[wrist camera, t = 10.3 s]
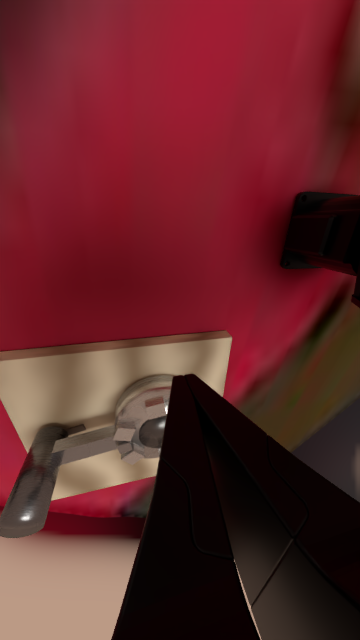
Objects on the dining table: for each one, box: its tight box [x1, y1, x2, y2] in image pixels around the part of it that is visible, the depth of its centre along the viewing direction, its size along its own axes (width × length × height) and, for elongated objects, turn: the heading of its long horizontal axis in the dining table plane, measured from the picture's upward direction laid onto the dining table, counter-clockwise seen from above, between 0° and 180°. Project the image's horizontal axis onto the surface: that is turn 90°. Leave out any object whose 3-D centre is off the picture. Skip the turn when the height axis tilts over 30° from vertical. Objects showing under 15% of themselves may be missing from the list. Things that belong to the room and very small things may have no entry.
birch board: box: [0, 330, 232, 501], centre depth 24 cm, size 22×22×2 cm
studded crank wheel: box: [0, 375, 173, 538], centre depth 19 cm, size 17×9×7 cm, turn 97°
